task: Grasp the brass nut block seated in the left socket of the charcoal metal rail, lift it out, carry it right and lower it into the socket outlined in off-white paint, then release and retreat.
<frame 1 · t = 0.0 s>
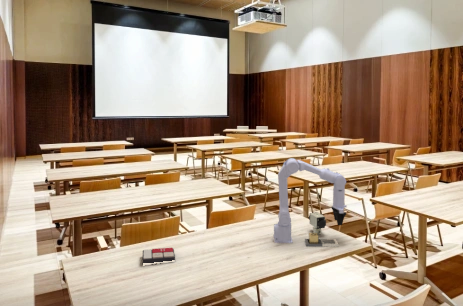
hand: (338, 222, 194), 10 cm above the table, fingers open, 7 cm apart
calculator: (158, 260, 179), on the table
pneumatic valve: (317, 234, 206), on the table
rail: (321, 244, 192), on the table
cage nut: (313, 243, 192), resting on rail
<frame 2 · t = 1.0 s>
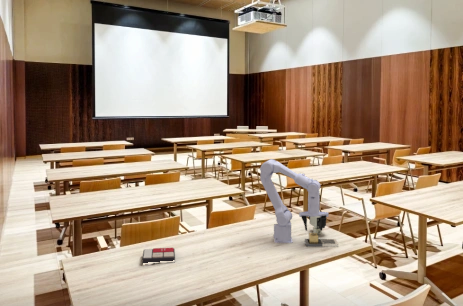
hand: (313, 230, 191), 8 cm above the table, fingers open, 7 cm apart
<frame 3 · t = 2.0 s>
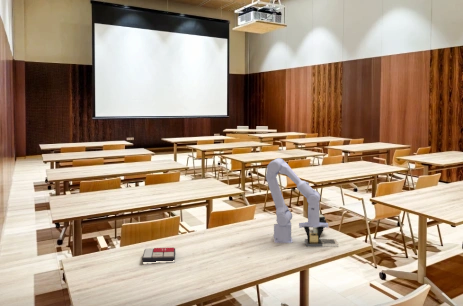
hand: (313, 240, 192), 2 cm above the table, fingers closed on cage nut, 4 cm apart
cage nut: (313, 243, 192), resting on rail, touching gripper
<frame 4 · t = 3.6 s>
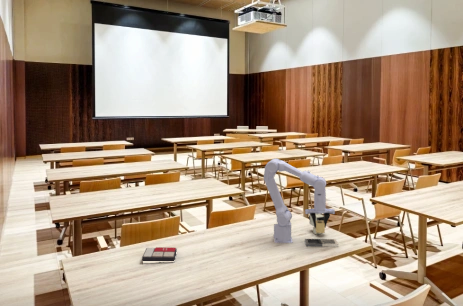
hand: (319, 227, 190), 9 cm above the table, fingers closed on cage nut, 4 cm apart
cage nut: (319, 231, 190), point 7 cm above the table, touching gripper
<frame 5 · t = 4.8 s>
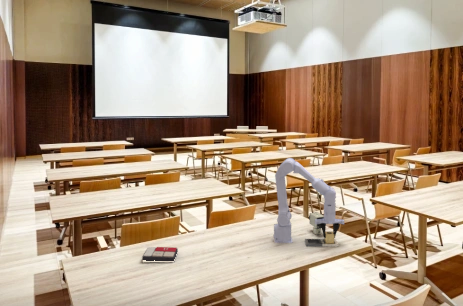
hand: (329, 237, 191), 4 cm above the table, fingers closed on cage nut, 4 cm apart
cage nut: (329, 242, 191), point 1 cm above the table, touching gripper
when the fingers open (3 cm above the table, at t = 5.5 s): cage nut stays where it is, resting on rail.
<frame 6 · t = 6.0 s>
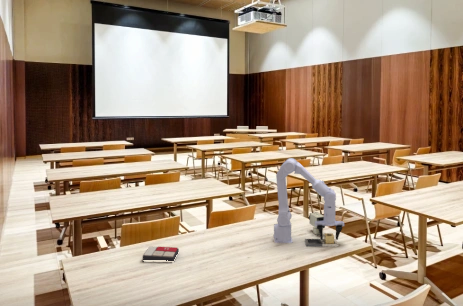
hand: (329, 239, 191), 3 cm above the table, fingers open, 7 cm apart
cage nut: (329, 244, 191), resting on rail
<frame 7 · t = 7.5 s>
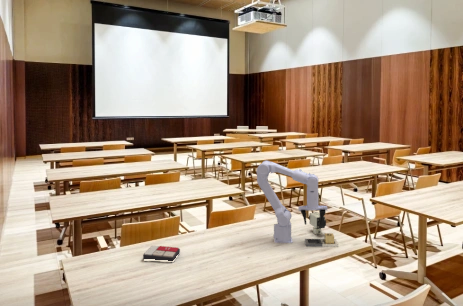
hand: (312, 223, 192), 10 cm above the table, fingers open, 7 cm apart
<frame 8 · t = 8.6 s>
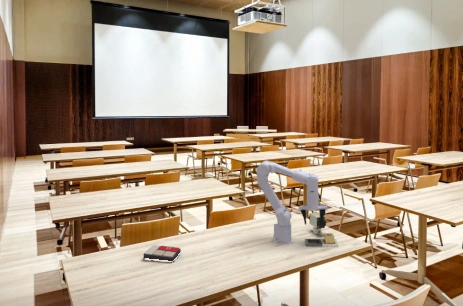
hand: (312, 223, 192), 10 cm above the table, fingers open, 7 cm apart
at the end: cage nut 0.2 cm from the target spot on the rail, point 0.3 cm above the rail's base; cage nut tilted 0°; the gripper is holding nothing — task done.
